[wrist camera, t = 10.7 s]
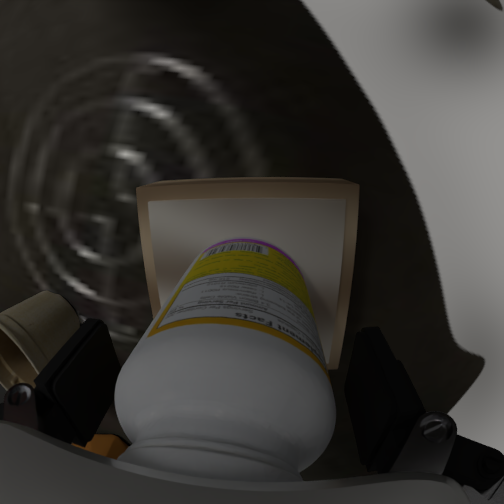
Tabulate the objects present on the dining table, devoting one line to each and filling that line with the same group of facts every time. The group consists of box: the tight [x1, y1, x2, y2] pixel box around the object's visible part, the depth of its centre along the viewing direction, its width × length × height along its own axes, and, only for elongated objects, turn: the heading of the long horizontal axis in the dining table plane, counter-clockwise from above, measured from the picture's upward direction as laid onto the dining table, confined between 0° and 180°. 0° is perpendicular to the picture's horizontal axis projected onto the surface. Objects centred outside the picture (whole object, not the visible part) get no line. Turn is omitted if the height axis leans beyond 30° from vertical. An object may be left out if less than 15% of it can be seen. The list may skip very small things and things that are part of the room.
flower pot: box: [0, 291, 80, 390], centre depth 19 cm, size 9×9×9 cm
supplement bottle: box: [114, 237, 336, 482], centre depth 10 cm, size 7×7×13 cm
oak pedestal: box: [136, 177, 359, 370], centre depth 18 cm, size 12×12×4 cm
